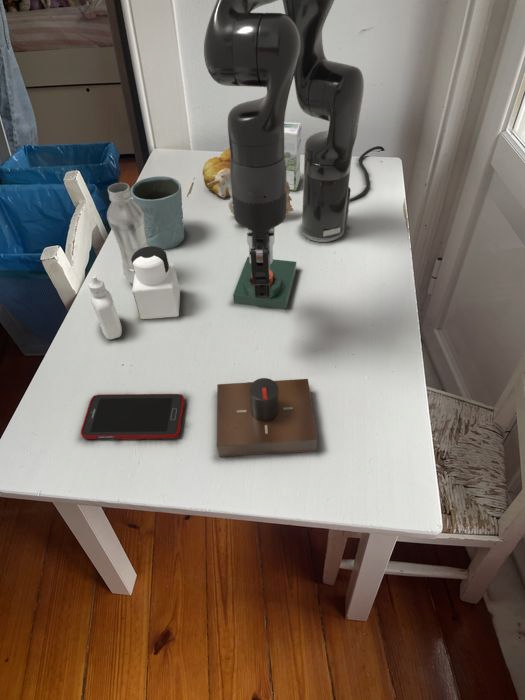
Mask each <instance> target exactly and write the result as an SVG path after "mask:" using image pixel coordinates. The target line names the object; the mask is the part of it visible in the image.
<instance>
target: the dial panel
mask: <svg viewBox="0 0 525 700" xmlns="http://www.w3.org/2000/svg"><path fill="white" fill-rule="evenodd" d="M273 381H274V382H275V383H276V384H277V386H278V414H277V416H276V417H275V418H274V419H272V420H270V421H260V420H257V419H256V418H255V417H254V416H253V415H252V413H251V402H250V386H251V384H252V383H253V382H254V381H249V382H248V381H247V382H234V383H218V384H217V385H216V386H217V389H216V391H217V393H216V396H217V397H216V401H217V402H216V449H217V454H218V457H219V458H225V457H238V456H255V455H269V454H285V453H301V452H302V453H303V452H317V447H318V435H317V428H316V422H315V415H314V409H313V403H312V402H313V401H312V396H311V390H310V384H309V383H310V382H309V378H299V379H298V378H297V379H281V380H279V379H278V380H273Z"/></svg>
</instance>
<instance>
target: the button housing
mask: <svg viewBox="0 0 525 700" xmlns="http://www.w3.org/2000/svg"><path fill="white" fill-rule="evenodd" d="M270 270H271V271H272V272H273V284H272V285H271V286H270V296H269V298H257V297H256V296H255V286H253V284H252V278H251V274H252V268H251V264H250V262H249V256H247V257H246V260H245V262H244V265H243V268H242V271H241V273H240V276H239V277H238V278H239V279H238V281H237V283H236V285H235V289H234V292H233V294H232V297H233V304H234V305H242V306H243V305H244V306H250V307H251V306H253V307H259V308H268V309H276V310H287V307H288V303H289V300H290V297H291V296H290V295H291V292H292V288H293V284H294V280H295V277H296V273H297V261H293V260H283V259H274V258H273V262H272V264H270Z"/></svg>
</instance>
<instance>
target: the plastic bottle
mask: <svg viewBox="0 0 525 700" xmlns="http://www.w3.org/2000/svg"><path fill="white" fill-rule="evenodd" d="M107 193H108V199H109V201H110V204H109V206H108V208H107V211H106V220H107V222H108V225H109V227H110V229H111V231H112V233H113V235H114V237H115V240H116V242H117V244H118V248H119V251H120V256H121V260H122V272H123V275H124V277H125V279H126V281H127V282H128V283H130V284H131V285H133V282H134V276H135V272H134V268H133V265H132V261H131V258H132V256H133V254H134V253H135V252H136V251H137V250H139V249H141V248H144V247H149V244H148V240H147V235H146V228H145V216H144V212H143V210H142V208H141V207H140V205H139V204H138V203H137V202H135V201H134V200H133V198H132V193H131V187H130V185H129V184H128V183H126V182H115V183H113V184H111V185H109V186H108V187H107Z"/></svg>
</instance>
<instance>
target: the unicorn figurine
mask: <svg viewBox="0 0 525 700" xmlns="http://www.w3.org/2000/svg"><path fill="white" fill-rule="evenodd" d="M212 176H213V177H215V178H216V179H215V181H213V182H211V183H208V185H213V184H216V185H217V186H218V188H219V195H218V196H219V197H221V198H225V197H226V196H225V195H226V192H225V190H226V187H227V186H228V188H229V194H230V195H229V197H230V198H229V200H228V203H227V206H228V208H229V210H230V212H231V214H232V215H233V216H234V209H233V199H232V188H231V177H230V169H228V168H225V169H223V170H221V171H219V172H218V173H217V175H212ZM290 193H291V190H290V187H289V183H288V182H287V181H286V215H289V213H290V212H293V211H294V208H293V207H292V206H293V205H291V201H293V199H292V198H291V196H290ZM238 226H240V227H242V226H241V225H240V224H238Z"/></svg>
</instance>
